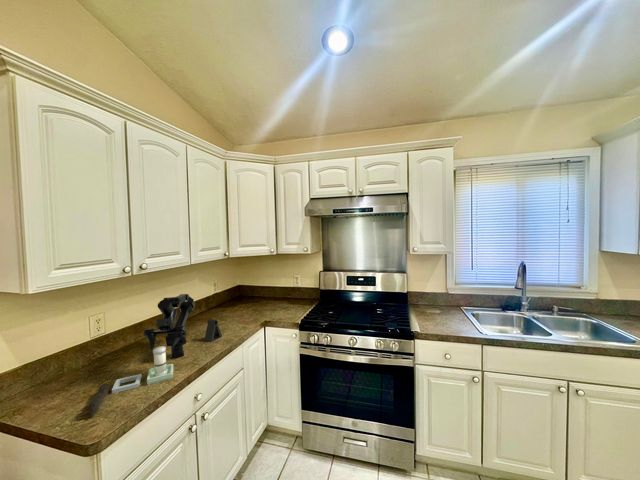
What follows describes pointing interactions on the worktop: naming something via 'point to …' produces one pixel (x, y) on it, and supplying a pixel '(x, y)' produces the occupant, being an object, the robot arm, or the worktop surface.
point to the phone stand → (212, 331)
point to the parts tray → (152, 379)
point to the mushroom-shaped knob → (160, 361)
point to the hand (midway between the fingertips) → (161, 349)
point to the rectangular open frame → (129, 386)
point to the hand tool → (98, 399)
